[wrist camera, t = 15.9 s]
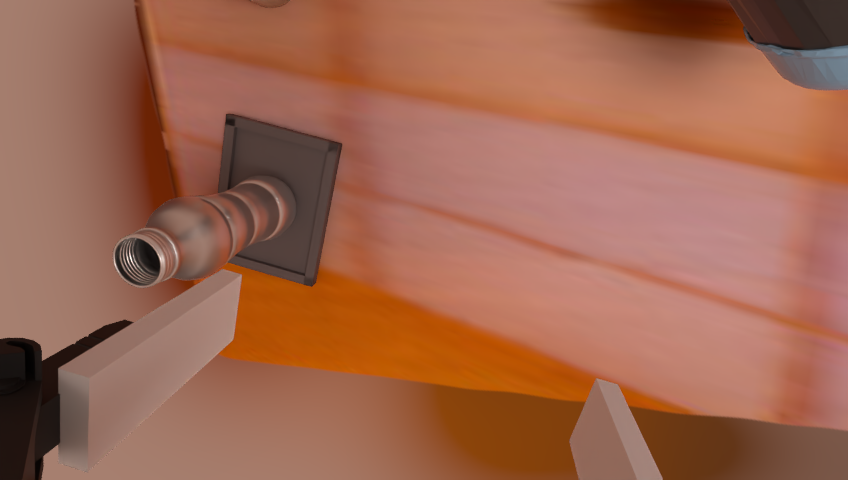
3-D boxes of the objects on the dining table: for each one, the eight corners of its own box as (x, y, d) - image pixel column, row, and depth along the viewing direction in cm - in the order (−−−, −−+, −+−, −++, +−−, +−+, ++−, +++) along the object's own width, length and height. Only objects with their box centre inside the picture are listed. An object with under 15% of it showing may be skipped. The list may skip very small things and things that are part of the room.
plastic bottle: (237, 214, 50) (81, 280, 31) (259, 160, 48) (106, 194, 29) (288, 243, 50) (165, 326, 31) (312, 190, 48) (196, 243, 29)
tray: (232, 114, 47) (226, 114, 46) (342, 143, 47) (338, 144, 45) (216, 254, 52) (210, 257, 51) (315, 282, 51) (311, 286, 50)
